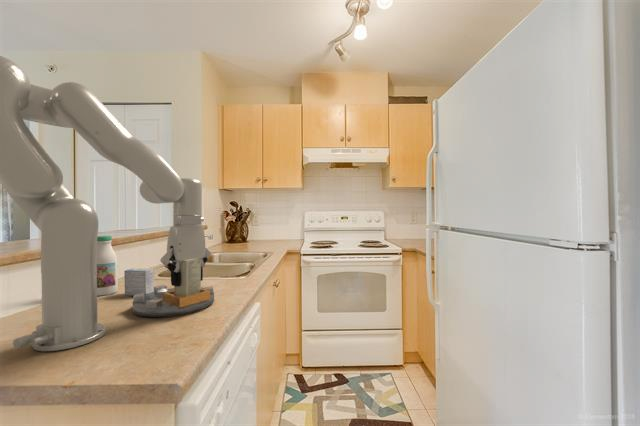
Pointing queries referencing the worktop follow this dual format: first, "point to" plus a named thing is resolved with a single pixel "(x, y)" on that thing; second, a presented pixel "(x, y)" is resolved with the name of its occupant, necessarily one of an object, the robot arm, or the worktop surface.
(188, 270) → the skincare box
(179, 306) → the round grey platter
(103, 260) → the milk bottle
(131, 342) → the worktop surface
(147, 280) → the medicine box
